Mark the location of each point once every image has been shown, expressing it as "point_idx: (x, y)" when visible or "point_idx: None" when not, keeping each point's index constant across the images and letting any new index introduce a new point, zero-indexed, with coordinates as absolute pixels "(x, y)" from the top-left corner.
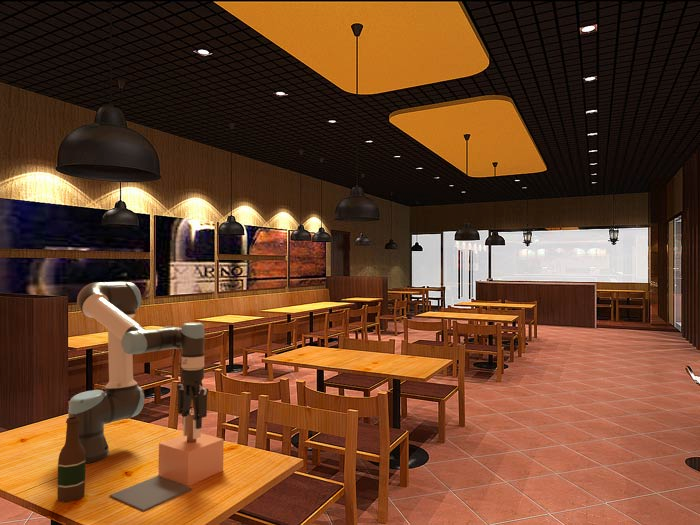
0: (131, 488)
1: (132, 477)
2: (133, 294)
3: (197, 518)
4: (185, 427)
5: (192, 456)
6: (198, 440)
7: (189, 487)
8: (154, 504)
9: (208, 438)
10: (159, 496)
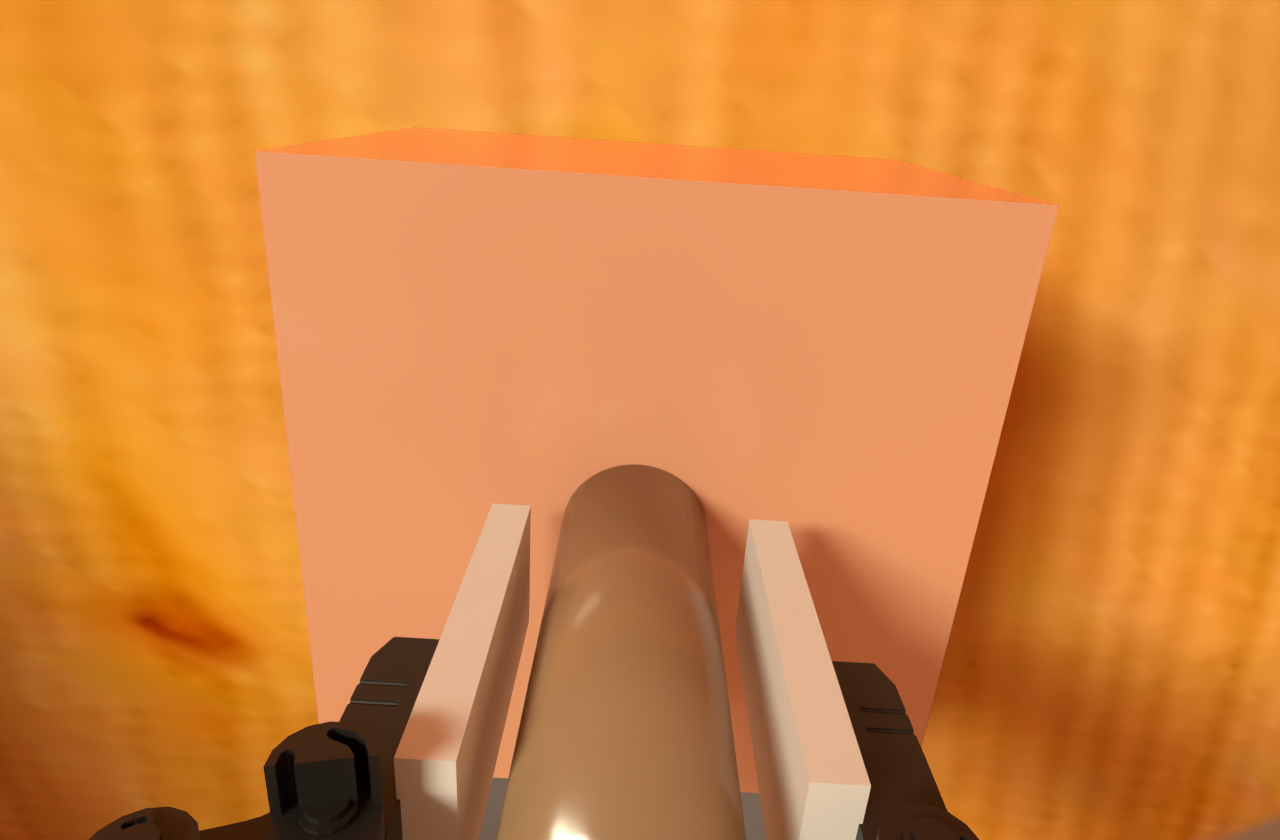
0: (496, 791)
1: (292, 660)
2: None
3: (1211, 831)
4: (507, 706)
5: None
6: (703, 461)
7: None
8: None
9: (782, 314)
10: None
